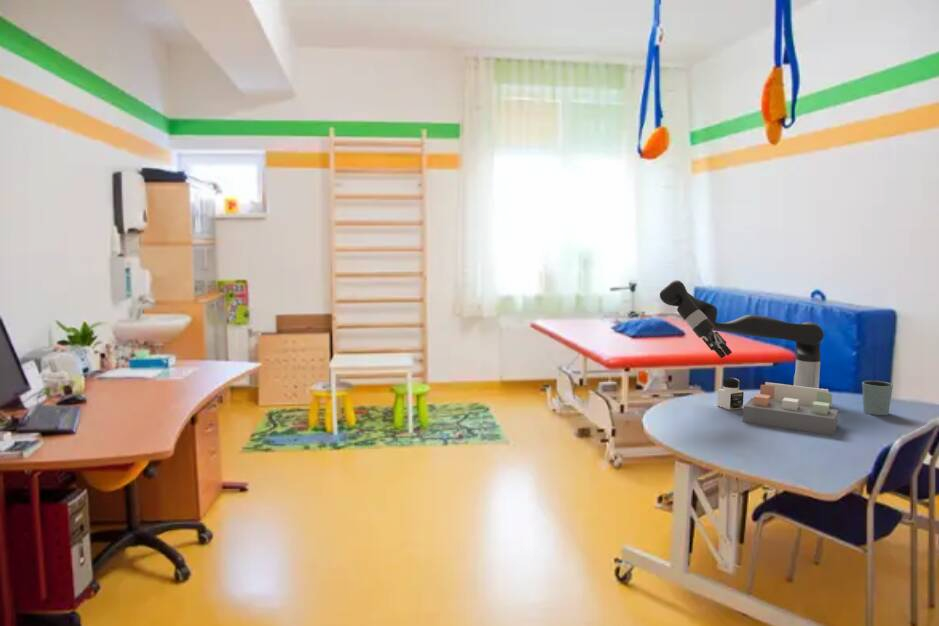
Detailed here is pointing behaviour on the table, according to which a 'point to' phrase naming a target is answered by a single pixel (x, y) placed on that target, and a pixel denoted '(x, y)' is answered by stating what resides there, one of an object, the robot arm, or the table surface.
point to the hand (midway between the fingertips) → (727, 355)
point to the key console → (792, 418)
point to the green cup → (876, 397)
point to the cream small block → (790, 404)
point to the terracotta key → (761, 400)
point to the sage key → (820, 408)
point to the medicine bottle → (730, 395)
